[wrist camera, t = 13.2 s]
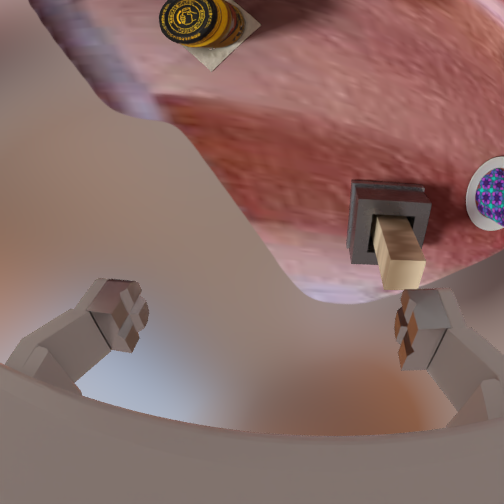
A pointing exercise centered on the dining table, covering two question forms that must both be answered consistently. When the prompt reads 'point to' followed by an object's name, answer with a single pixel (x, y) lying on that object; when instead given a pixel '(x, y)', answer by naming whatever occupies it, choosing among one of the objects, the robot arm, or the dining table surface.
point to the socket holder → (383, 213)
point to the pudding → (487, 196)
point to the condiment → (207, 27)
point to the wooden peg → (397, 252)
